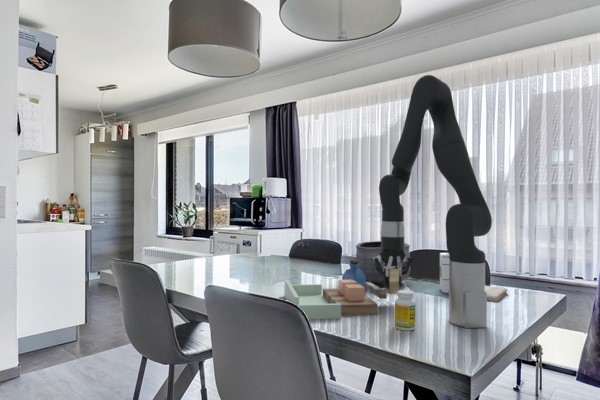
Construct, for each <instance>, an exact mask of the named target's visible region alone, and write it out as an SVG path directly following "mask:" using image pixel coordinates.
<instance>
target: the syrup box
mask: <svg viewBox="0 0 600 400" xmlns="http://www.w3.org/2000/svg"><path fill="white" fill-rule="evenodd" d="M439 290H440V291H441V293H444V294H449V253H448V252H440V253H439Z"/></svg>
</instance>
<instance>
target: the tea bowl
mask: <svg viewBox="0 0 600 400" xmlns="http://www.w3.org/2000/svg"><path fill="white" fill-rule="evenodd" d="M355 248H356V253H355V257H356V259H355V260H358V264H359V267H358V269H361V270H362V271H363V273H364V274H365V276H366V281H368V282H371V283H372V284H376V285H382V286H384V285H383V275H381V274H379V273H378V272H377V269H376V267H375V265H374V262H373V260H372V258H373V257H377V256H379V255H380V252H381V240H376V241H364V242H359V243H358V244H356V245H355ZM404 253H405V255H406V256H408V257H411V256H410V253H411V252H410V244H409V243H405V242H404ZM380 265H381V267H382V270H383V269H384V268H383V266H384V262H383V260H382V259H381V262H380ZM403 265H404V259H403V261H402V262H401V268H402V267H403ZM391 267H394V266H391ZM410 273H411V266H410V267H409V270H408V272H407V274H406V275H405V274H404V275H402V276H401V282H403V281H405V280H407V279H408V278H409V275H410Z"/></svg>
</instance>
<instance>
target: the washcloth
mask: <svg viewBox="0 0 600 400" xmlns="http://www.w3.org/2000/svg"><path fill="white" fill-rule="evenodd" d="M485 292H486V293H487V302H488V301H489V302H495V303H496V302H499V301H500V300H501V299H503V297H505V296H507V295H508V289H507V288H506V287H499V286H498V287H497V286H490V285H487V284H485Z"/></svg>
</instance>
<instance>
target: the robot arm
mask: <svg viewBox="0 0 600 400" xmlns="http://www.w3.org/2000/svg"><path fill="white" fill-rule="evenodd" d="M453 100H454V99H453V96H452V91H451V88H450V86H449V85H448V84H447V83H446V82H444V81H443V80H442V79H439V78H438V77H436V76H435V75H432V74H427V75H425V74H424V75H423V76H421V77H420V78H419V79H418V80H416V82H415V84H414V86H413V89H412V91H411V95H410V100H409V103H408V109H407V113H406V117H405V120H404V125H403V128H402V132H401V135H400V138H399V141H398V143H397V146H396V149H395V151H394V153H393V156H392V159H391V164H392V171H391V174H390V173H389V174H385V175H383V177H381V179H380V181H379V186H378V195H379V198H380V199H379V200H380V204H381V209H382V210H381V226H380V228H381V229H380V241H381V252H380V255H379V256H377V257H373V258H372V260H373V262H374V265H375V267H376V269H377V272H378V273H379V274H381V275H383V285H382V286H384V288H389V277H388V276H389V270H390V269H391V266H394V267H395V268H397V269H399V288H401V286H402V281H401V276H402V275H404V274H405V275H406V274H407V272H408V270H409V267H410V268H411V264H412V262H413V260H414V259H413V257H411V256H410V257H408V256H406V255H405V253H404V243H405V222H404V221H405V219H404V218H405V216H404V215H405V210H404V206H403V205H402V203H401V196H402V195H403V194H404V193H405V192H406V191H407V188H408V186H409V184H410V180H411V174H412V169H413V166H414V165H415V161H416V159H417V157H418V154H419V152H420V150H421V149H420V148H421V145H422V133H423V132H422V129H423V122H424V119H425V115H426V112H427V111H428V112H429V113H428V114H429V115H430V118H431V120H432V124H433V135H432V143H431V145H432V146H431V147H432V153H433V156H434V157H433V158H434V161H435V163H436V166H437V169H438V171H439V172H440V173H441V175H442V176H443V177H444V179H445V180H446V181H447V182H448V184H449V185H451V187H452V189H453V190H454V191H455V193H456V194H457V197H458V199H459V200H458V201H459V203H456V204H454V205H452V206H451V207H449V208H448V211H447V213H446V216H445V217H446V218H445V239H446V249H447V253H449V293H448V322H449V323H451V324H452V325H456V326H459V327H462V328H465V329H470V328H471V329H472V328H473V329H474V328H475V329H477V328H487V327H488V326H487V324H488V323H487V318H488V317H487V316H488V315H487V311H488V310H487V309H488V308H487V307H488V303H487V302H488V301H487V293H486V292H485V285H486V253H485V251H483V250H481V249H480V248H478V247H477V246H476V244H475V237H482V236H486V235H487V234H488V233H489V232H490V230H491V228H492V226H493V225H492V224H493V222H492V221H493V218H492V214H491V211H490V209H489V207H488V204H487V202H486V199H485V198H484V195H483V193H482V190H481V189H480V186H479V183H478V180H477V177H476V174H475V171H474V169H473V166H472V163H471V159H470V155H469V152H468V149H467V146H466V143H465V140H464V137H463V135H462V131H461V128H460V125H459V122H458V119H457V116H456V111H455V106H454V102H453ZM381 259H382V260H383V262H384V266H383V268H384V269H383V270H382V267H381V265H380V262H381ZM403 259H404V265H403V267H402V268H401V262H402V261H403Z"/></svg>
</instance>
